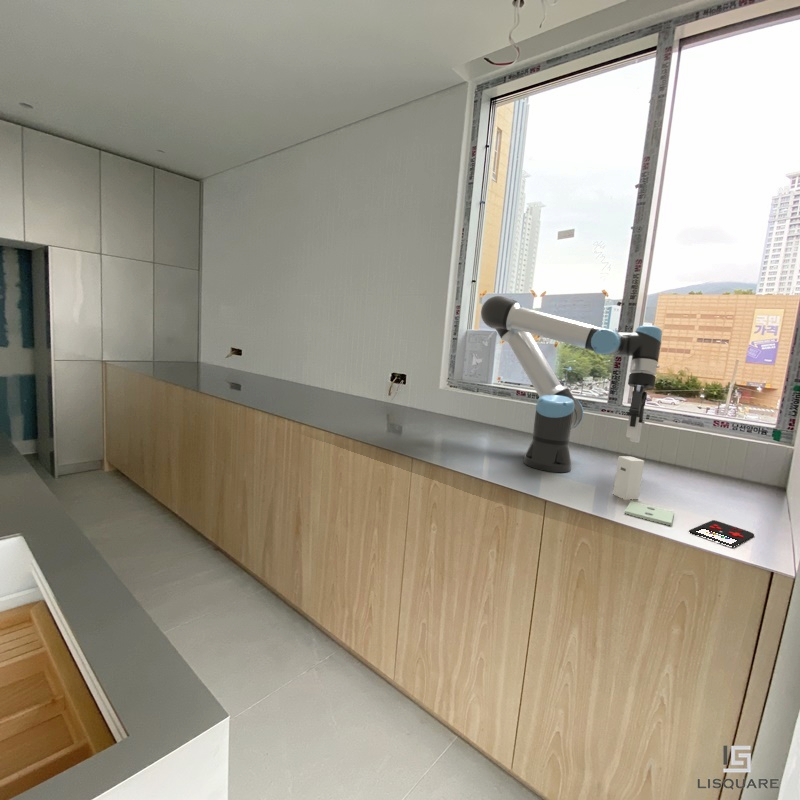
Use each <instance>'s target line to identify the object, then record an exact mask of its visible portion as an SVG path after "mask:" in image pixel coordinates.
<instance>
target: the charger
mask: <svg viewBox="0 0 800 800" xmlns="http://www.w3.org/2000/svg"><path fill="white" fill-rule="evenodd" d="M644 465H645V460H643V459H640V458H637V457H634V456H630V455H628V456H627V455H625V456H624V455H623V456H621V455H620V456H618V459H617V464H616V471H615V478H614V484H613V491H612V495H613V494H614V496H615V497H618V498H620V499H622V498H623V499H622V500H624V499H625V500H624V501H634V500H633V499H638V500H639V496H640V489H641V483H642V478H643V472H644ZM630 499H632V500H630Z"/></svg>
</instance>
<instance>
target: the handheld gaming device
mask: <svg viewBox="0 0 800 800" xmlns="http://www.w3.org/2000/svg"><path fill="white" fill-rule="evenodd" d="M701 529H706V530H709V532H710V533H709V534H713V535H718V536H721V535H724V536H721V538H724V537H725V536H727V537H725V539H730V538H732V539H735V540H737V541H736V542H734V543H732V544H729V543H726V542H723V541H720V540H718V539H715V538H712V537H714V536H712V537H709V536H706V535H704V534H701V533H698V532H696V531H699V530H701ZM711 531H712V532H711ZM689 532H690V533H689ZM713 532H715V533H713ZM688 533H689V534H691V533H692V534H691V535H693V534H695V535H694V536H696V535H699V536H703V537H706V538H709V539H712V540H714V541H718V542H720V543H723V544H726V545H729V546H732V547H734V546H736V545H738V544H740V543H742V544H743V542H744V543H745V542H747V541H749V540H751V539H752V538H754V537H755V533H753V532H751V531H748V530H746V529H742V528H739V527H736V526H734V525H730V524H727V523H725V522H722V521H718V520H714V519H712V520H710V521H708V522H705V523H703V524H701V525H700V524H699V525H698V526H695V527H694V528H691V529H689V530H688ZM706 533H708V532H706ZM716 533H718V534H716ZM719 534H721V535H719ZM699 536H698V537H699ZM728 537H729V538H728ZM750 538H751V539H750ZM746 540H747V541H746ZM740 545H741V544H740ZM738 546H739V545H738ZM736 547H737V546H736Z"/></svg>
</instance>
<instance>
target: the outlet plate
mask: <svg viewBox="0 0 800 800" xmlns="http://www.w3.org/2000/svg"><path fill="white" fill-rule="evenodd" d="M624 513H626V514H625V515H627V514H629V515H628V516H630V515H633V516H632V517H634V516H636V517H635V518H638V517H640V518H639V519H642V518H643V519H642V520H645V519H647V520H646V521H649V520H650V522H653V521H654V522H653V523H657V522H659V523H658V524H660V523H663V524H662V525H664V524H666V525H665V526H668V525H670V526H669V527H672V523H673V519H674V515H675V511H674V510H669V509H664V508H662V507H657V506H653V505H649V504H645V503H641V502H637V501H634V500H629V503H628V504H627V507H626V508H625V510H624Z"/></svg>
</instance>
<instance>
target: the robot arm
mask: <svg viewBox="0 0 800 800" xmlns="http://www.w3.org/2000/svg"><path fill="white" fill-rule="evenodd" d="M480 314H481V319H482V321H483V323H484V324H485V325H486V326H488V327H489V328H491V329H494V330H496V332H497V334H498V335H499V337H500V339H501V341H505V342H507V343H508V345H509V346H510V348H511V350H512V352H513V354H514V355H515V357H516V358H517V360H518V362H519V364H520V365H521V367H522V369H523V371H524V372H525V374H526V376H527V378H528V380H529V382H530V383H531V385H532V386H533V388H534V390H535V392H536V393H537V395H538V397H539V398H538V399H537V403H536V405H535V415H534V416H535V417H534V423H533V429H532V430H533V431H532V439H531V442H530V444H529V446H528V448H527V450H526V452H525V454H524V458H523V463H524V464H525V465H526V466H528V467H530V468H533V469H537V470H541V471H543V472H545V471H546V472H552V473H566V472H567V473H568V472H570V471H571V470H572V465H573V464H572V463H573V462H572V458H571V457H572V456H571V454H570V449H569V448H570V446H569V443H570V439H571V437H570V436H571V432H572V431H571V430H573V429H575V428H576V427H578V426H579V424H581V422H582V420H583V418H584V408H583V405H582V403H581V402H580V401H579V400H578V399H576V398H575V397H574V396H573V394H572V392H571V391H570V388H568V387H567V386H563V385H562V384H561V382H560V381H559V379H558V377H557V376H556V374H555V373H554V370H553V369H552V366H550V364H549V362H548V359H546V357H545V355H544V353H543V352H542V350H541V349H540V347H539V345H538V343H537V342H536V340H535V338H534V337H533V335H535V336H540V337H543V338H547V339H549V340H553V341H557V342H561V343H564V344H568V345H570V346H574V347H579V348H581V349H586V350H589V351H592V352H594V353H595V354H597V355H601V356H602V355H603V356H606V355H608V356H627V357H628V356H629V357H631V361H630V367H629V376H628V381H627V385H628V386H629V387H631V388H632V387H633V390H632V392H631V401H630V407H629V410H628V411H626V416H628V421H627V428H626V433H625V435H626V436H625V437H626V438H629V442H633V443H637V444H640V439H641V433H642V426H643V424H645V422H646V420H644V411H645V406H646V399H647V398H648V393H647V391H646V389H653V388H655V386H656V379H657V377H656V374H657V370H658V369H660V365H658V363H659V357H660V351H661V346H662V335H663V331H662V329H661V327H658V326H657V325H650V324H649V325H646V324H645V325H639V326H638V327H636V329H635V331H634V332H619V331H615V330H614V329H611V328H604V327H600V326H596V325H592V324H588V323H585V322H580V321H577V320H573V319H571V318H570V319H569V318H566V317H562V316H557V315H554V314H553V315H552V314H549V313H546V312H543V311H538V310H534V309H531V308H527V307H524V306H523V305H522V304H521V303H520V302H518V301H517V300H515V299H511V298H507V297H504V296H500V295H496V296H492V297H490V298H487V300H486V301H485V302H484V303H483V304H482V306H481V311H480Z"/></svg>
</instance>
